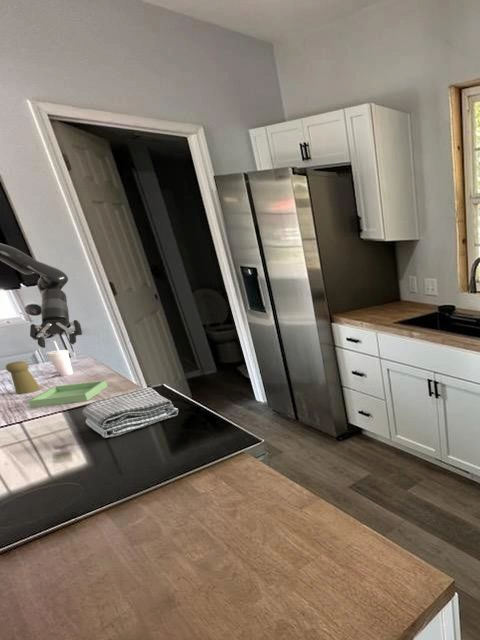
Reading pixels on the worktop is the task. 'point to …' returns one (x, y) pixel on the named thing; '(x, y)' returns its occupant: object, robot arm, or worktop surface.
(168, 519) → the worktop surface
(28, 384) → the cork
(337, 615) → the worktop surface
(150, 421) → the towel
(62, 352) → the smoothie
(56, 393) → the tray
